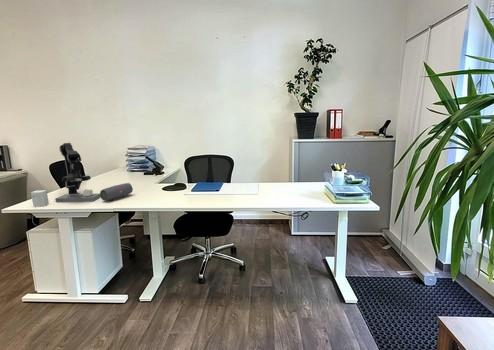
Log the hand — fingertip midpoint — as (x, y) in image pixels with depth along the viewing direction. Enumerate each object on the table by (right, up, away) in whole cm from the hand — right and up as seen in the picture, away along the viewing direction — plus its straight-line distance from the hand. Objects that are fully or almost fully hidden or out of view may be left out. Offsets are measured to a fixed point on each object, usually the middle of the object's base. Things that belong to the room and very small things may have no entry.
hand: (78, 189), depth 231 cm
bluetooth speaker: (+29, -7, +2) cm, 30 cm away
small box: (-21, -11, -10) cm, 26 cm away
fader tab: (+7, -4, +1) cm, 8 cm away
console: (0, -8, +2) cm, 8 cm away
